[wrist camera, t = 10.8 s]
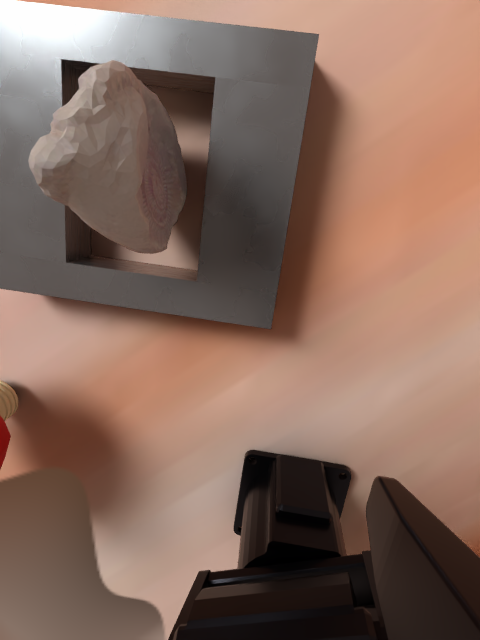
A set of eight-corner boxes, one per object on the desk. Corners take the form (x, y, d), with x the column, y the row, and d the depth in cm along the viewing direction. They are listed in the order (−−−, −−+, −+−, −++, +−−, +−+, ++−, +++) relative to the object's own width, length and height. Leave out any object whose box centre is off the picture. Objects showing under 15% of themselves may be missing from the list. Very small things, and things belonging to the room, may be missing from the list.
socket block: (271, 314, 20) (270, 329, 18) (25, 277, 21) (-7, 287, 18) (312, 58, 16) (319, 34, 14) (10, 24, 17) (-33, -5, 15)
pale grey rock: (196, 243, 19) (120, 284, 10) (131, 236, 20) (-4, 270, 10) (202, 119, 18) (117, 25, 8) (131, 113, 18) (-35, 14, 8)
